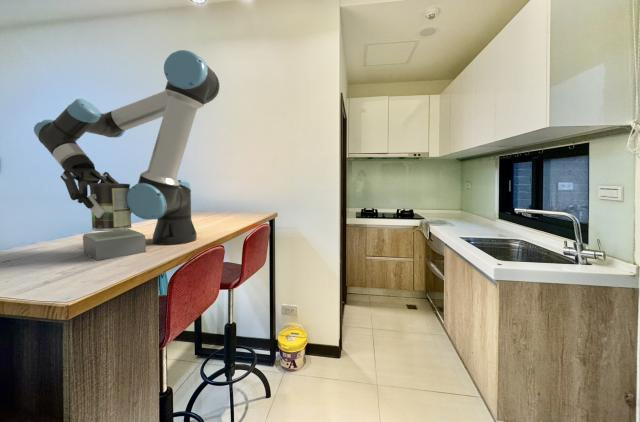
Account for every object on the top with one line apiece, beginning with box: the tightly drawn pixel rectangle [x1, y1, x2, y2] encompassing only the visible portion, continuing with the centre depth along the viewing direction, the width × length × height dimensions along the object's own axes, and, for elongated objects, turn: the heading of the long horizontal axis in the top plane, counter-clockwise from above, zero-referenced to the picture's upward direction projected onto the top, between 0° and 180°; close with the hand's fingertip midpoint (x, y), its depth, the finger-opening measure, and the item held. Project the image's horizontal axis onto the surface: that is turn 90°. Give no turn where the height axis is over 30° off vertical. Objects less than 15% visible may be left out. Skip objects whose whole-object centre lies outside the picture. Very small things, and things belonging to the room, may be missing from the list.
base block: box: [82, 228, 147, 261], centre depth 91 cm, size 13×13×6 cm
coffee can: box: [88, 182, 132, 232], centre depth 90 cm, size 10×10×14 cm
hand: (117, 212), depth 90 cm, fingers closed on coffee can, 10 cm apart
